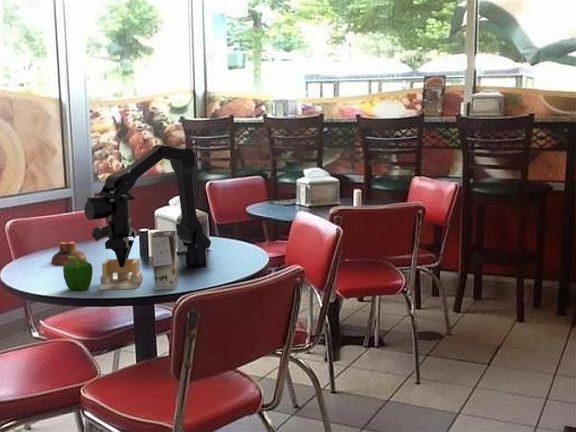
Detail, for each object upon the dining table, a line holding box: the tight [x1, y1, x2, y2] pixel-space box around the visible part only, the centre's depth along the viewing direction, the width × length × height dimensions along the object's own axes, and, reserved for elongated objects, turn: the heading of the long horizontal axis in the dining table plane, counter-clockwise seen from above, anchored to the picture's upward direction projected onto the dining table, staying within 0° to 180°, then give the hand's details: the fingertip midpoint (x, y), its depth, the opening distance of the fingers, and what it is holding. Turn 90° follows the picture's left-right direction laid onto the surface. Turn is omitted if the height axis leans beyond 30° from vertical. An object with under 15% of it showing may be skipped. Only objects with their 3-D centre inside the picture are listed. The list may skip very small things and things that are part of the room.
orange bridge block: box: [101, 257, 141, 277], centre depth 216 cm, size 10×7×4 cm, turn 92°
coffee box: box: [151, 230, 179, 291], centre depth 212 cm, size 9×6×16 cm
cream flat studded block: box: [99, 271, 144, 290], centre depth 216 cm, size 11×12×3 cm
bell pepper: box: [62, 256, 94, 291], centre depth 211 cm, size 8×8×10 cm
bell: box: [50, 240, 87, 266], centre depth 247 cm, size 12×12×7 cm
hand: (122, 265), depth 218 cm, fingers open, 3 cm apart
